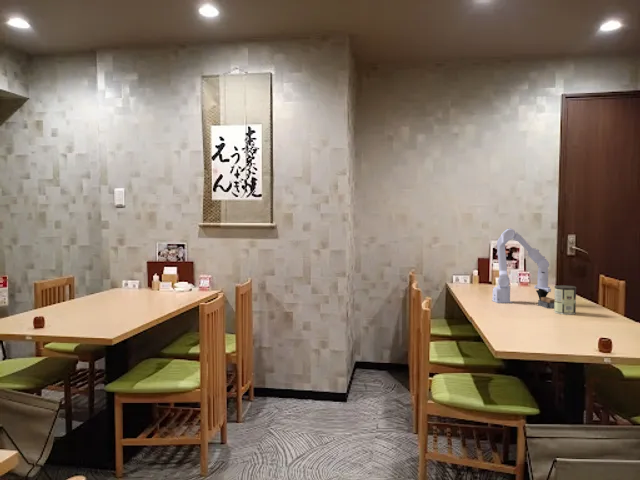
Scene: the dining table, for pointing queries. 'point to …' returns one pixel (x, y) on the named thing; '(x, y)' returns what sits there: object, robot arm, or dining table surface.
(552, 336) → the dining table surface
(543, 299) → the brown rectangular block
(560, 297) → the coffee can
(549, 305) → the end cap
